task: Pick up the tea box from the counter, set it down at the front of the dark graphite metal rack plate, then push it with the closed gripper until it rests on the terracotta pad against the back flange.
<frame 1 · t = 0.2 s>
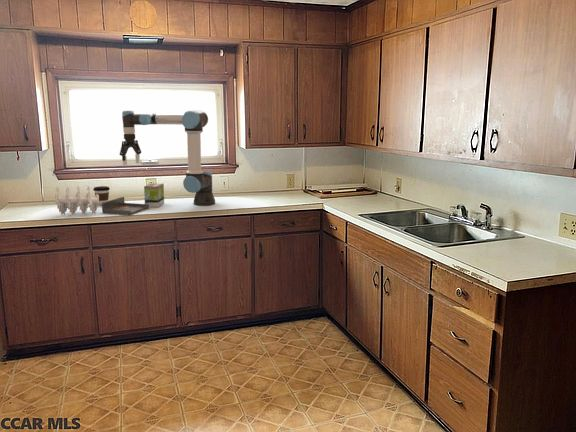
hand: (131, 164, 331), 28 cm above the worktop, tool pointing down, fingers open, 13 cm apart
grey translucent row part: (78, 214, 303), on the worktop
tea box: (154, 205, 330), on the worktop
rack: (126, 210, 312), on the worktop
coffee cup: (102, 204, 333), on the worktop
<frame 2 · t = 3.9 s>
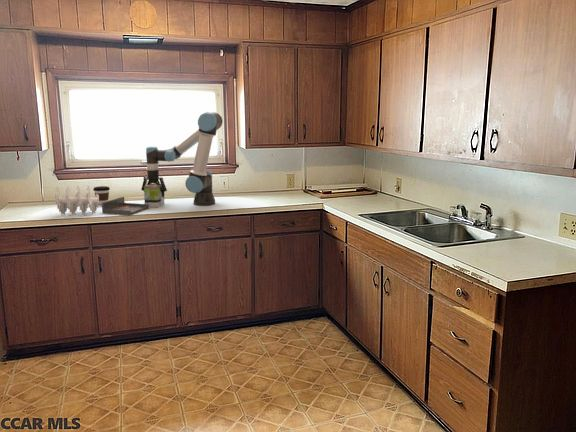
hand: (154, 201, 329), 3 cm above the worktop, tool pointing down, fingers closed on tea box, 11 cm apart
tea box: (154, 205, 330), on the worktop, touching gripper
everything else where it was.
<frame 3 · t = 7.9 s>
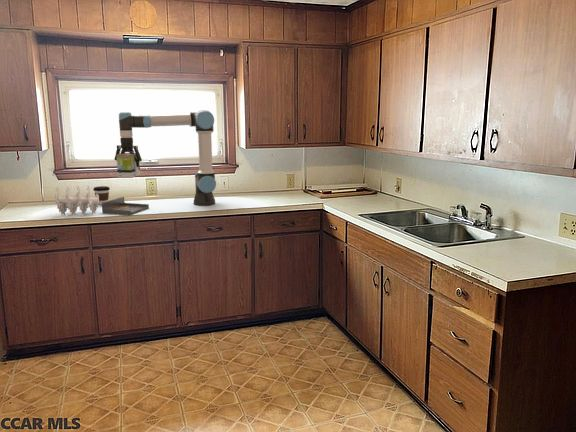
hand: (128, 171, 305), 26 cm above the worktop, tool pointing down, fingers closed on tea box, 11 cm apart
tea box: (129, 176, 306), point 23 cm above the worktop, touching gripper
everything else where it was.
when the fingers open (6 cm above the worktop, at t = 12.2 s): tea box drops 1 cm, resting on rack.
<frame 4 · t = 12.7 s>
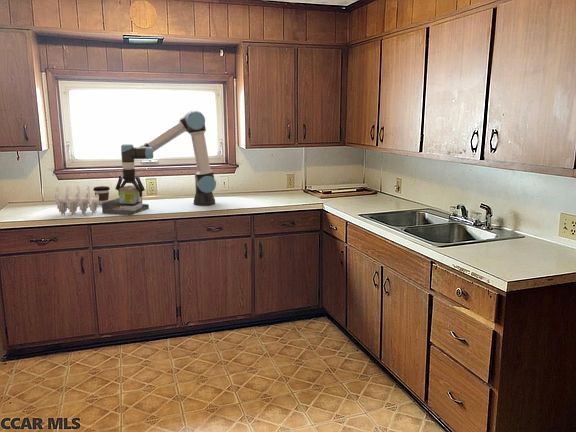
hand: (130, 201, 309), 7 cm above the worktop, tool pointing down, fingers open, 13 cm apart
tea box: (131, 209, 310), point 1 cm above the worktop, touching rack
everything else where it was.
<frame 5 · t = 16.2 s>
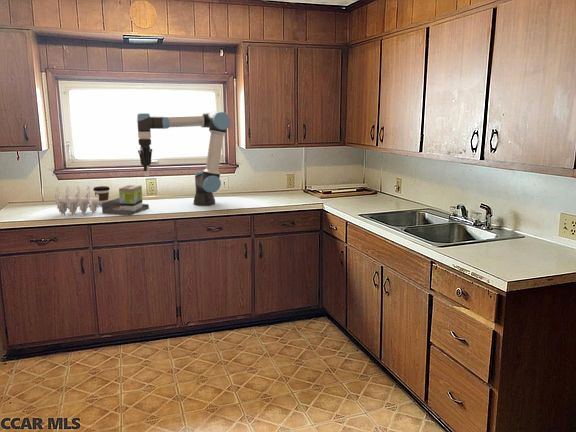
hand: (146, 175, 302), 24 cm above the worktop, tool pointing down, fingers closed
nothing on the worktop moved.
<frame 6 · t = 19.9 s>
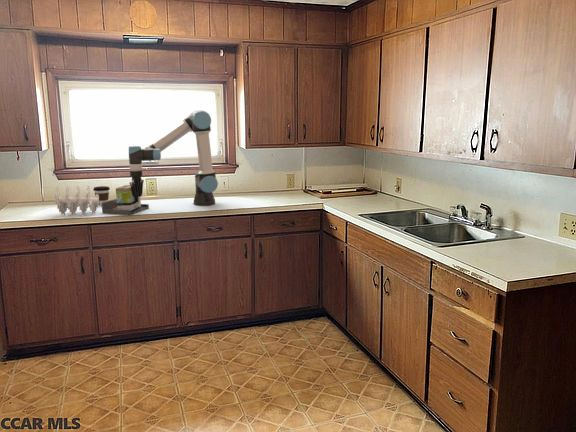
hand: (138, 206, 308), 4 cm above the worktop, tool pointing down, fingers closed
tea box: (129, 208, 310), point 2 cm above the worktop, touching rack
everything else where it was.
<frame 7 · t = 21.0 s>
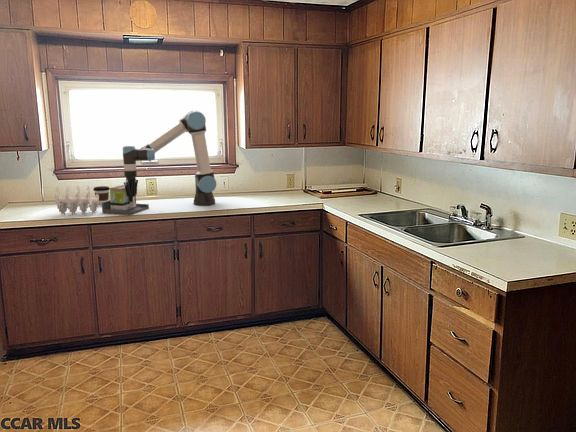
hand: (132, 206, 309), 3 cm above the worktop, tool pointing down, fingers closed
tea box: (124, 208, 311), point 1 cm above the worktop, touching gripper, rack
everything else where it was.
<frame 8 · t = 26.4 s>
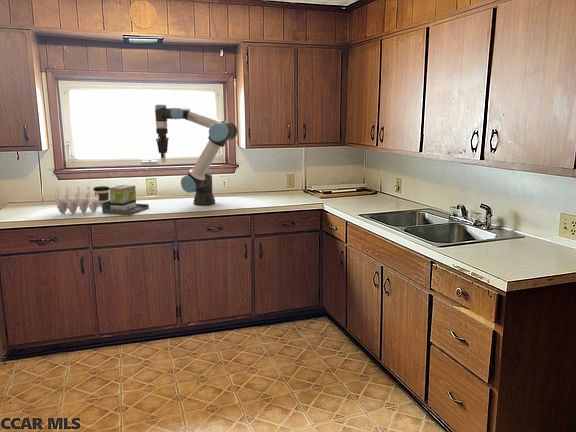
hand: (163, 162, 328), 29 cm above the worktop, tool pointing down, fingers closed
tea box: (124, 208, 311), point 1 cm above the worktop, touching rack
everything else where it was.
at the end: tea box 1.9 cm from the target spot on the rack, point 1.3 cm above the rack's base; tea box tilted 0°; the gripper is holding nothing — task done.
